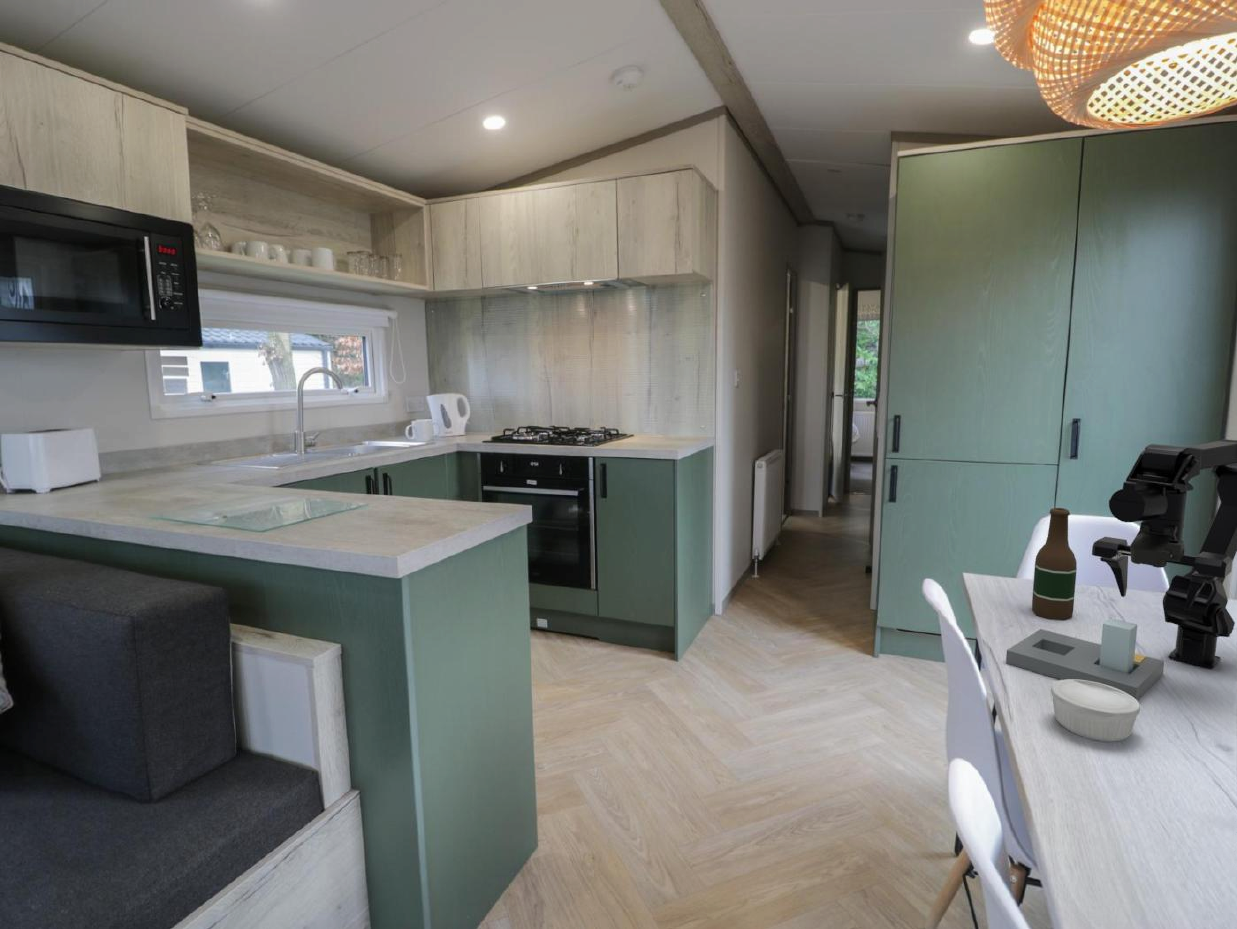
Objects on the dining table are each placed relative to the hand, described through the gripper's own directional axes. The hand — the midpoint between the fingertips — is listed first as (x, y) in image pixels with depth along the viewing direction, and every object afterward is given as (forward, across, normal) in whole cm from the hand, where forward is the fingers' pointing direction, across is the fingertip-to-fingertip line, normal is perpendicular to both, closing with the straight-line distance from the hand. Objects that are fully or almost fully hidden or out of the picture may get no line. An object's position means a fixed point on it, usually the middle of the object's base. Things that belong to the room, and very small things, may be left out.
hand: (1154, 602), depth 121 cm
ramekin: (+13, 0, -29) cm, 32 cm away
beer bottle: (+13, -22, +19) cm, 32 cm away
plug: (+13, -3, -7) cm, 15 cm away
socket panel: (+13, -8, -7) cm, 17 cm away
